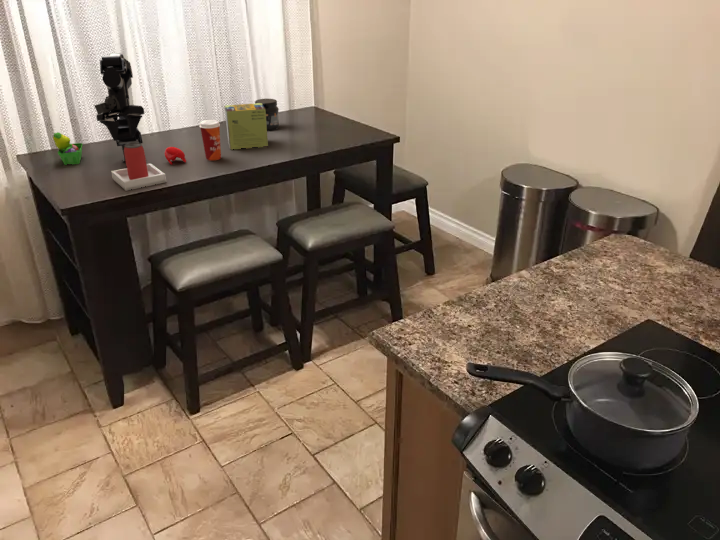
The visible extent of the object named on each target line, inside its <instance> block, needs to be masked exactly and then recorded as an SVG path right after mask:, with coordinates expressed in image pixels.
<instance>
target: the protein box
mask: <svg viewBox="0 0 720 540" xmlns="http://www.w3.org/2000/svg"><path fill="white" fill-rule="evenodd" d="M223 107H224V115H225V116H224V117H225V124H226V125H225V126H226V135H227V136H226V137H227V143H228V148H229V149H230V151H231V150H233V149H234V150H242V149H241V148H246V149H253V148H252V147H258V148H264V147H263V146H268V147H269V140H268V131H267V125H266V110H265V108H264V106H263V105H262V103H255V102H254V103H243V104H230V105H229V104H228V105H224V106H223Z"/></svg>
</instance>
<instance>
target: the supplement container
mask: <svg viewBox="0 0 720 540" xmlns="http://www.w3.org/2000/svg"><path fill="white" fill-rule="evenodd" d="M255 103H262V105H263V106H264V108H265V110H266V125H267V130H269V131H274V130H273V129H275V130H277V129H279V127H280V119H279V118H280V115H279V114H280V113H279V107H278V100H276V99H274V98H259V99H257V100H255V101H254V104H255Z"/></svg>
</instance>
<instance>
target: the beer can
mask: <svg viewBox="0 0 720 540" xmlns="http://www.w3.org/2000/svg"><path fill="white" fill-rule="evenodd" d="M142 145H143V143H136V142H134V143H128V144H125V145H124V146H125V148H124V155H125V160H126V162H125V165H126V168H127V171H128V176H129V179H130V180H133V179H138V178H143V177H148V176H149V175H148V170H147V164H148V163H147V159H146V154H145V153H146V152H145V149H144V147H143V146H142Z"/></svg>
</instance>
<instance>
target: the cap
mask: <svg viewBox="0 0 720 540" xmlns="http://www.w3.org/2000/svg"><path fill="white" fill-rule="evenodd" d="M164 157H165V159H166V160H167V162H168V163H169V165H171V166H172V165H173V162H174V161H176V160H177V158H178V159H180V160H181V161H183V162H184V163H187V160H186V155H185V153H184V151H183V150H182V149H180V148H178V147H175V146H168V147H167V148H165V151H164Z"/></svg>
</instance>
